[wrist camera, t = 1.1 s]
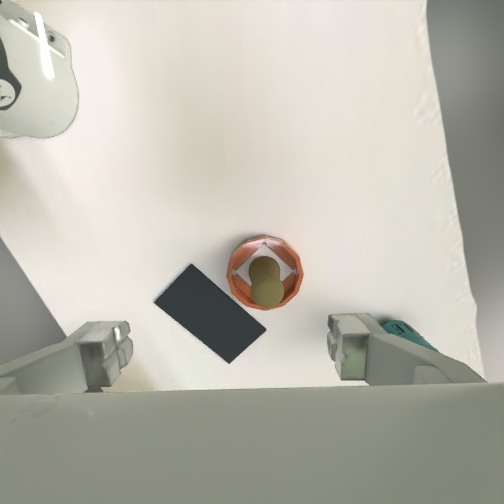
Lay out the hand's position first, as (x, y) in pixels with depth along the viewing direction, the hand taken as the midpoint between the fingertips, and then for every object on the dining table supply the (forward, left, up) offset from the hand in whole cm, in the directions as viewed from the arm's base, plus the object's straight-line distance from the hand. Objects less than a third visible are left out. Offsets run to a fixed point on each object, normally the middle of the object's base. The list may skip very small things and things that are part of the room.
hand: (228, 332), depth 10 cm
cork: (+9, -5, -37) cm, 38 cm away
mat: (+8, -19, -36) cm, 42 cm away
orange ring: (+9, -5, -36) cm, 38 cm away
